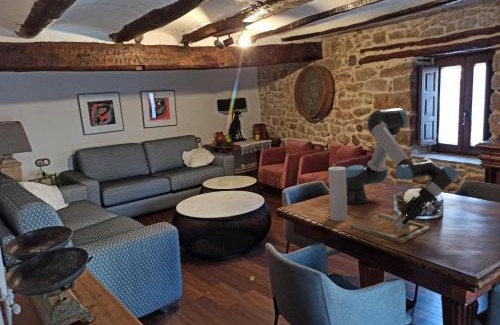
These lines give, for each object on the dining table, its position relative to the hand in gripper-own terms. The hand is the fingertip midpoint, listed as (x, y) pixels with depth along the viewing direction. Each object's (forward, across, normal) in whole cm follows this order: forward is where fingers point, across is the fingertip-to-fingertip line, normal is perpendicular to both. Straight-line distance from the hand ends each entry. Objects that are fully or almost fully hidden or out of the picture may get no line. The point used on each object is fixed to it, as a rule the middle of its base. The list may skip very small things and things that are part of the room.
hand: (395, 225), depth 184 cm
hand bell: (0, 0, -5) cm, 5 cm away
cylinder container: (+20, +25, +14) cm, 35 cm away
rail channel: (+3, +6, -2) cm, 7 cm away
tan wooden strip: (0, 0, -5) cm, 5 cm away
